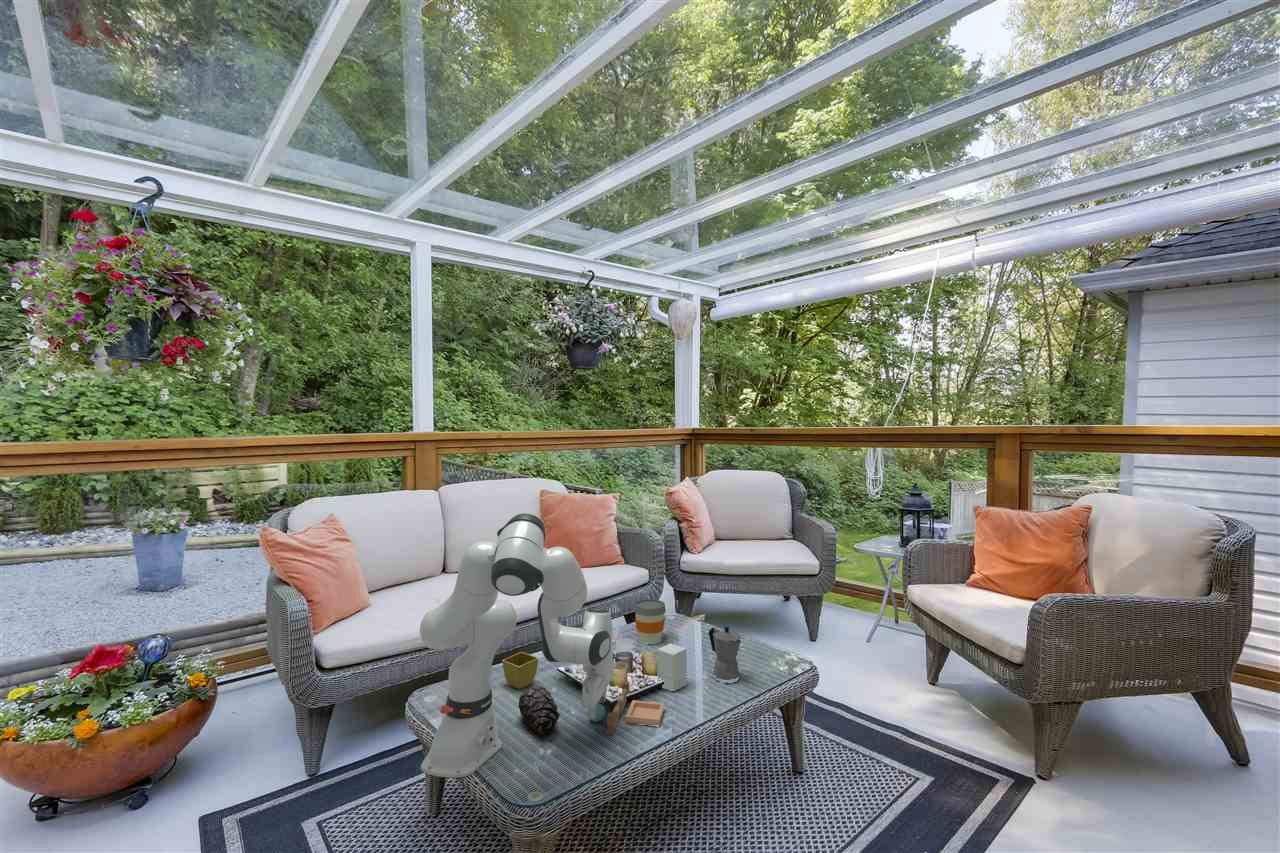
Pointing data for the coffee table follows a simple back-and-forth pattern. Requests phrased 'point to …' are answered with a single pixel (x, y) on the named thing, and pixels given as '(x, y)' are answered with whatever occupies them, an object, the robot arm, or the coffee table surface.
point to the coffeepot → (725, 653)
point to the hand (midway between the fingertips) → (597, 709)
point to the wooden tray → (645, 713)
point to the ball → (598, 713)
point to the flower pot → (520, 669)
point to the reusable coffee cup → (650, 620)
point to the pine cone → (538, 711)
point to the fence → (617, 710)
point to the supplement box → (672, 666)
